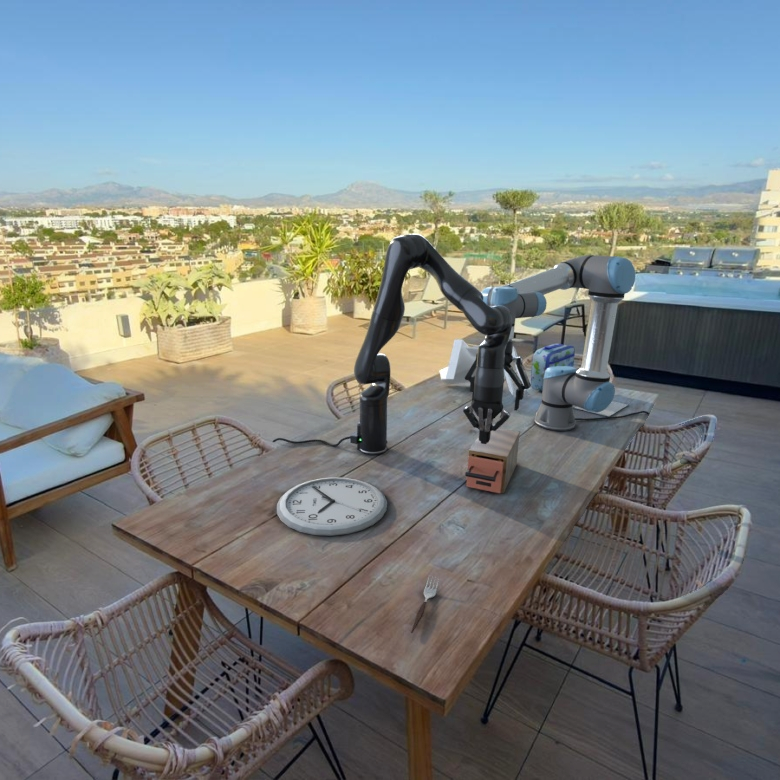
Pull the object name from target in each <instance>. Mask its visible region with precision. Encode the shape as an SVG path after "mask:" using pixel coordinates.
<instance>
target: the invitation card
mask: <svg viewBox="0 0 780 780" xmlns="http://www.w3.org/2000/svg"><path fill="white" fill-rule="evenodd" d="M628 406H629V404H627V403H623V402H618V401H614V400H612V402H611V403H610V405H609V406H608V407H607V408H606V409H605V410H603V411H601V412H592V411H587V410H585V409H583V408H580V407H577V406H574V407H573V409H575V410H581V411H584V412H587V413H593V414H596V415H600V416H604V417H612V416H613V415H614V414H616V413H617V412H619V411H621V410H623V409H624V408H626V407H628Z"/></svg>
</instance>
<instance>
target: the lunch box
mask: <svg viewBox="0 0 780 780" xmlns="http://www.w3.org/2000/svg"><path fill="white" fill-rule="evenodd" d="M575 352H576V351H575V346H573V345H568V344H562V343H553V344H550V345H547V346H546V345H545V346H544V347H541V348H538V349H537V350H536V351H535V352H534V354H533V357H532V362H531V371H530V372H531V374H530V384H531V386H530V388H531V389H533V390H539V391H543V380H544V379H543V378H544V375H545V370H546V369H547V368H549V367H555V366H570V367H574V363H575Z"/></svg>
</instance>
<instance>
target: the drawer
mask: <svg viewBox="0 0 780 780" xmlns="http://www.w3.org/2000/svg"><path fill="white" fill-rule="evenodd" d="M503 465H504V462H503V459H498V458H492V457H486V456H481V455H475V454H474V456H469V455H468V457H467V471H465V474H464V477H466V483H465V484H466V485H465V486H466V487H467V488H472V489H476V490H481V491H486V492H491V493H496V494H501V493H502V492H501V487H502V476H503Z"/></svg>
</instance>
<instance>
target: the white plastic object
mask: <svg viewBox="0 0 780 780" xmlns="http://www.w3.org/2000/svg"><path fill="white" fill-rule="evenodd" d="M479 345H480V344H479ZM479 345H473V346H469V345H468V343H466V342H465V340H464V339H463V338H460V339H458V338H454V340H453V344H452V349H451V353H450V357H449V362H448V366H446V367H444V368H442V369H440V370H439V371H438V372H439V376H440V381H442V383H443V384H444V385H445V386H449V385H458V384H467V383H468V384H469V383H470V381H468V380H465V376H466V375H467V373H468V371H469V370H470V368H471V366H472V365H473V363H474V361H475V360H476V355H477V353H478V348H479ZM512 356H513V357H519V355H518V352H517V349H516V347H515V346H514V345H513V349H512ZM514 366H515V369H516V374H517V376H518V377H519V378H520V380H521V381H522V379H521V376H520V373H519V371H518V368H517V365H516V364H515V363H514ZM475 372H476V369H475V371H474V373H473V374H472V377H474V376H475ZM504 378H505V380H506V383H507V386H508V390H509V393H510V394H511V395H512V397H513V398H515V397H516V388H515V385H514V381H513V380H512V378H511V377H510V375H509V374H508V373H507V372H506V371H505V369H504ZM522 383H523V381H522ZM524 395H525V396H526V397H528V396H531V395H530V390H529V389H524Z"/></svg>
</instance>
